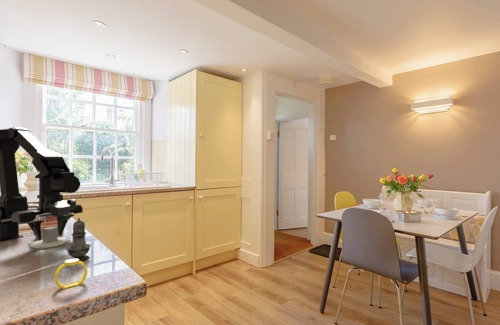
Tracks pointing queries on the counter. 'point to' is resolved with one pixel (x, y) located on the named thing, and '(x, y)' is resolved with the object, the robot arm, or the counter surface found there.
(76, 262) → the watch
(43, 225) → the bowl
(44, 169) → the robot arm
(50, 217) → the pill bottle
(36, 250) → the mat
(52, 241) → the lid
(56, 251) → the counter surface
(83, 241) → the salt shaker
